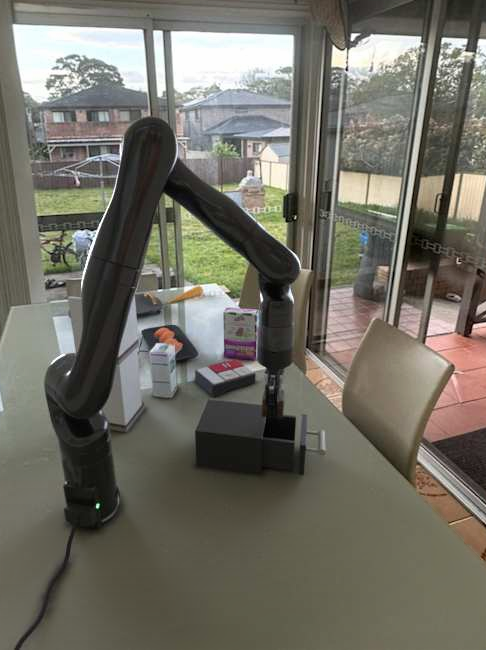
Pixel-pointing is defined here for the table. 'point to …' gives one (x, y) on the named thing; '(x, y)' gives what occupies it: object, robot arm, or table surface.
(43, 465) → the table surface
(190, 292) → the carrot
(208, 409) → the cabinet
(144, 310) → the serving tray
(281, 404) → the block
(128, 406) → the tall white pillar
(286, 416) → the drawer
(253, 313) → the candy bar box
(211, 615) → the table surface
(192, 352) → the sushi plate
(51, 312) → the table surface
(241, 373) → the calculator
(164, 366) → the syrup box
